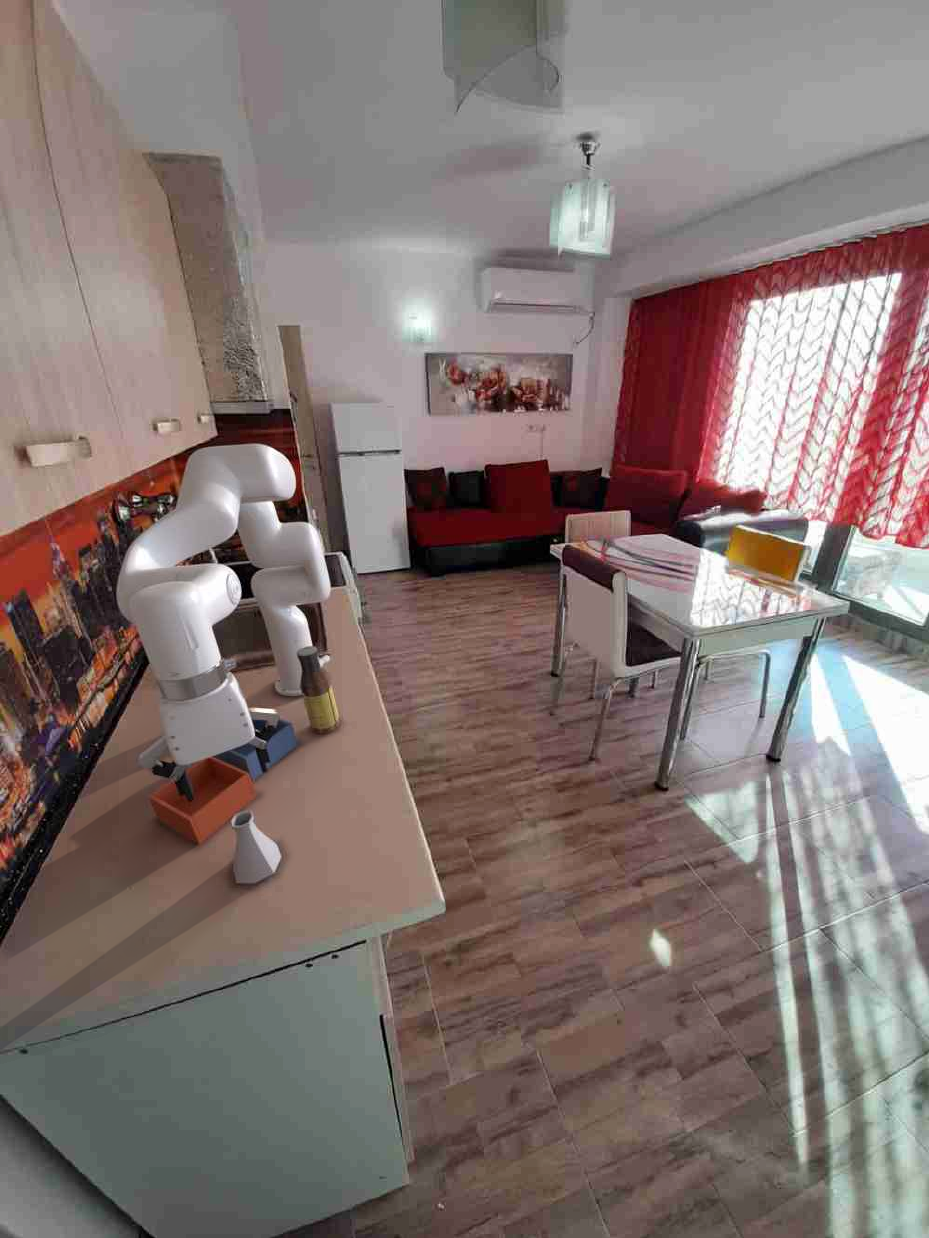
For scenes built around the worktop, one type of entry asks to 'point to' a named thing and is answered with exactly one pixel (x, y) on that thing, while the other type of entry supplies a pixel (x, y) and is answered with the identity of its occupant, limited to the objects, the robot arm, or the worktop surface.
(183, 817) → the terracotta bin
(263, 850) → the flask
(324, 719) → the sauce bottle
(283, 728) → the blue bin
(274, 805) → the worktop surface
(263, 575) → the robot arm
